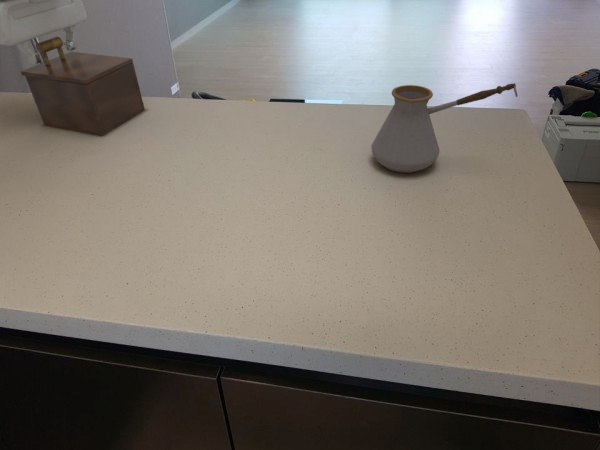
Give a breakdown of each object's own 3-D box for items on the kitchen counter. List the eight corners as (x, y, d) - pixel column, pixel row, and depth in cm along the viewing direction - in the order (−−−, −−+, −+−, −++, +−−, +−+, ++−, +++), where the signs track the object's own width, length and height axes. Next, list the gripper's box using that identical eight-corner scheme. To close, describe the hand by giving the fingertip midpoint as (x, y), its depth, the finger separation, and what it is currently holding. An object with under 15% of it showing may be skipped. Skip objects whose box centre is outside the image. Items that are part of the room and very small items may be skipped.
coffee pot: (367, 177, 77) (373, 90, 68) (373, 145, 86) (379, 65, 76) (501, 188, 73) (527, 98, 64) (492, 154, 82) (514, 71, 73)
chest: (44, 126, 96) (24, 75, 90) (90, 102, 106) (75, 55, 100) (102, 137, 91) (86, 84, 85) (145, 111, 101) (133, 62, 95)
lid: (21, 75, 90) (10, 48, 87) (72, 55, 100) (64, 30, 97) (86, 84, 85) (76, 56, 82) (133, 62, 95) (126, 36, 91)
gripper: (58, -30, 93) (79, 41, 101) (-34, -11, 78) (0, 70, 87) (81, -29, 91) (101, 43, 99) (-8, -9, 76) (25, 73, 85)
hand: (54, 56), depth 93 cm, fingers open, 8 cm apart
